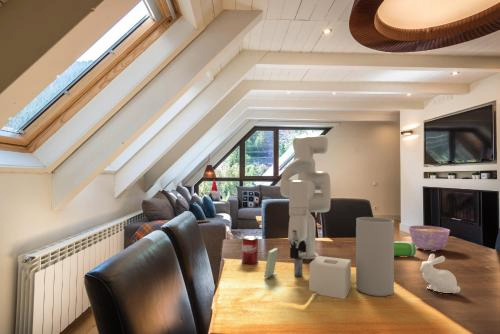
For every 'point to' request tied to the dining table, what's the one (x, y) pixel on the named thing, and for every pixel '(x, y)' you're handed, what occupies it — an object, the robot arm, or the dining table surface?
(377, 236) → the cylinder vase
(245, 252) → the soda can
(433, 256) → the rabbit
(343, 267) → the hitch block
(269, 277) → the hinge foot
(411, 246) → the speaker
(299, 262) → the silver knob
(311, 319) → the dining table surface
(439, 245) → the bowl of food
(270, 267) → the plate
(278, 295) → the dining table surface
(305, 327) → the dining table surface
